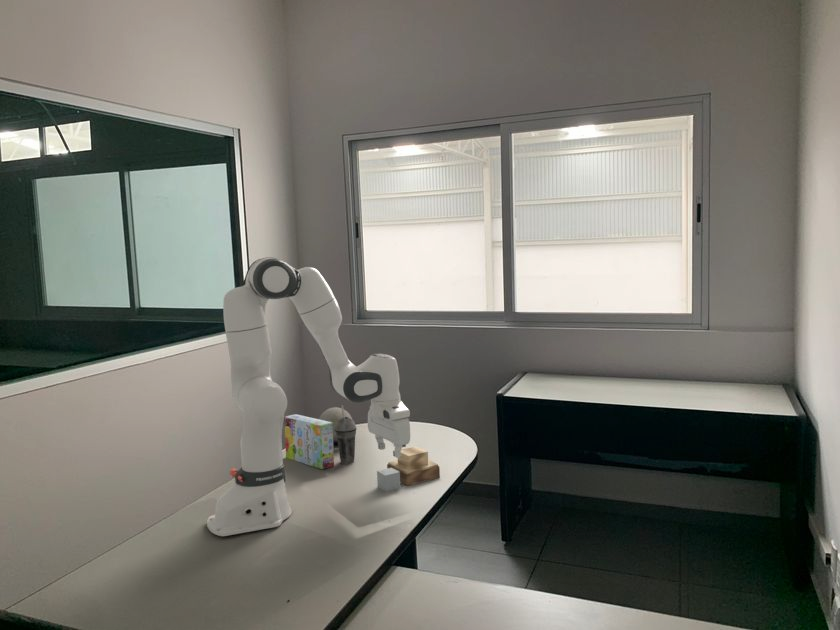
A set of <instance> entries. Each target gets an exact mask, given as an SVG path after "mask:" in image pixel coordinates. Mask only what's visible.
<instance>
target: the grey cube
mask: <svg viewBox="0 0 840 630" xmlns="http://www.w3.org/2000/svg"><path fill="white" fill-rule="evenodd" d="M376 476H377V477H376V479H377V482H376V483H377V488H378V489H380V490H382V491H384V492H385V493H386V492H391V491H394V490H399V489H401V482H400V472H399V471H397V470H395V469H393V468H388V469H387V468H384V469H380V470H377V471H376Z"/></svg>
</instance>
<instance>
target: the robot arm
mask: <svg viewBox="0 0 840 630" xmlns="http://www.w3.org/2000/svg"><path fill="white" fill-rule="evenodd" d="M285 298H289V300H290V301H292V303H293V305H294V307H295V309H296V311H297V313H298V315H299V316H300V319H301V321H302V322H303V324H304V325H305V327H306V329H307V330H308V331H309V333H310V334H311V336H312V337H313V339H314V340H315V341H316V343H317V345H318V346H319V349H320V352H321V353H322V355H323V358H324V360H325V362H326V364H327V367H328V371H329V374H328V375H329V384H330V385H329V386H330V387H331V390H333V392H334V393H335V394H337V395H338V396H340V397H343V398H344V399H346V400H348V401H350V402H352V403H364V402H367V401H369V400H370V405H369V410H368V412H367V428H368V431H369V433H371V434H373V435H374V437H375V440H376V443H377V449H378V450H380V451H382V450H383V451H384V450H386V443H385V442H384V440H386V441H388V442H390V443H392V444H393V446H394V450H392V454H393V455H392V456H393V457H394V458H397V459H398V457H400V456H401V450H402V449H403V447H402V446H403V445H406V446H407V445H409V444H410V442H411V424H410V419H409V417H410V416H411V411H410V409H409V408H408V407H407V406H406V405H405V404H404V403H403V401H402V399H401V393H400V389H399V388H400V381H401V380H400V373H399V366H398V362H397V359H396V357H394V356H392V355H390V354H385V353H373V354H371V355H370V356H369V357H368V358H367V359H366V360H365V361H363V362H362V363H360V364H359V365H357V366H356V365H355V364H354V363H353V362H351V361H350V360H349V358H348V355H347V353H346V351H345V349H344V347H343V344H342V342H341V340H340V337H339V329H340V326H341V324H342V321H343V314H342V312H341V307H340V305H339V302H338V300H337V298H336V297H335V295H334V293H333V290H332V289H331V287H330V285H329V283H328V282H327V281H326V279H325V277H324V275H322V274H321V273H320V271H319V270H318V269H317V268H315V267H314V266H313V267H312V266H304V267H302V268H299V269H296V268H295V267H293V266H291V265H290V264H289V263H287V262H285V261H284V260H283V259H279V258H276V257H273V256H272V257H271V256H266V257H262V258H259V259H257V260H255V261H254V262H252V263H251V265H249V267H248V269H247V271H246V274H245V277H244V279H243V282H242V284H241V286H238V287H234V288H232V289H230V290H229V291H228V292H226V293H225V294H224V296H223V303H222V304H223V305H222V306H223V308H222V309H223V311H222V312H223V313H222V314H223V324H224V330H225V336H226V337H225V338H226V342H227V349H228V353H229V354H228V355H229V359H230V381H231V395H232V396H231V397H232V400H233V402H234V404H235V407H236V408H238V409H239V410H241V411H242V416H243V417H242V419H243V422H242V423H243V424H242V433H241V436H240V440H239V441H240V443H239V444H240V459H241V467H240V468H239V469H236V468H231V469H230V470H229V475H230V476H231V477H232V478H234V483H233V484H232V485H231V486H230V488H228V489H227V490H226V491H225V492H224V493H223V494H222V495H221V496H219V498H217V500H216V504H215V511H214V514H212V515H210V516H209V517H208V518H207V519H206V526H207V527H206V528H207V529H208V530H209V531H210V533H212V534H213V535H215V536H216V535H217V536H218V537H219V536H220V537H227V536H232V535H238V534H244V533H250V532H255V531H261V530H266V529H272V528H276V527H279V526H281V525H282V523H283V521H284V520H287V519H288V518H289V517H290V516H291V514H292V511H293V510H292V508H291V506H290V502H289V499H288V495H287V490H286V477H287V475H286V472H287V471H286V466H285V463H284V461H283V460H284V459H283V457H284V456H283V442H282V438H283V437H282V435H283V426H284V417H285V412H286V411H287V408H288V398H287V395H286V394H285V391H284V389H283V388H282V386H280V385H279V384H278V383H277V382H275V381H273V379H272V375H271V361H272V360H271V359H272V355H273V354H272V353H273V350H272V345H271V339H270V333H269V327H268V320H267V316H266V307H267V303H268V301H269V300H281V299H285Z"/></svg>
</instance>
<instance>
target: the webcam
mask: <svg viewBox="0 0 840 630" xmlns="http://www.w3.org/2000/svg"><path fill="white" fill-rule="evenodd" d="M344 416H345V417H348V418H351V419H352V420H353V421H354V419H353V417H352V415H351V414H350V413H349V411H347V410H346V409H344ZM341 418H343V413H342V407H337V406H336V407H330V408H327V409H326V410H324V411H323V412H322V413H321V415H320V416H319V418H318V419H319V420H324V421H328V422H333V449H334V453H335V452H339V448H338V440H337V436H336V431H335V427H336V424H337V422H338V421H339V420H340V419H341Z"/></svg>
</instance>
